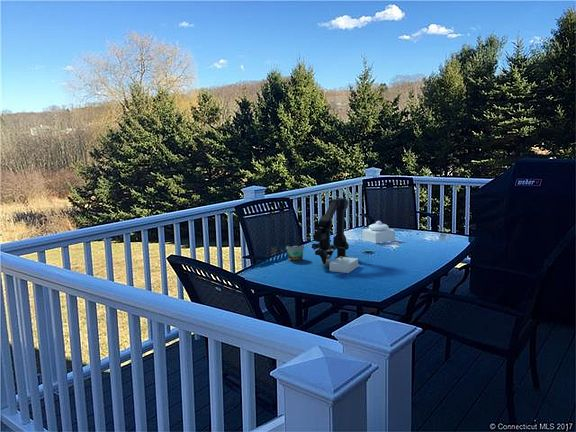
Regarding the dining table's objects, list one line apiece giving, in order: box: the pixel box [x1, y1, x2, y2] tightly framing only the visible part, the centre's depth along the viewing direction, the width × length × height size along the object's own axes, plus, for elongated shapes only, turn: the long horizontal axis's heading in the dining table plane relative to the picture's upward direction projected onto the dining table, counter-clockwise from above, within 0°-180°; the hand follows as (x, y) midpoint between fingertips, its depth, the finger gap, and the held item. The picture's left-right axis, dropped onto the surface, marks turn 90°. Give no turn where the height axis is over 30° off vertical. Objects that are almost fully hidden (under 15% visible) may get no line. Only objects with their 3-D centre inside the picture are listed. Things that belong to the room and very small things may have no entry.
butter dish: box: [361, 220, 396, 244], centre depth 358 cm, size 18×18×16 cm
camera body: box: [329, 256, 359, 274], centre depth 284 cm, size 16×12×6 cm
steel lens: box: [321, 254, 331, 268], centre depth 292 cm, size 5×5×7 cm
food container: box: [285, 244, 305, 263], centre depth 307 cm, size 12×6×10 cm, turn 105°
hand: (325, 263), depth 293 cm, fingers closed on steel lens, 5 cm apart
